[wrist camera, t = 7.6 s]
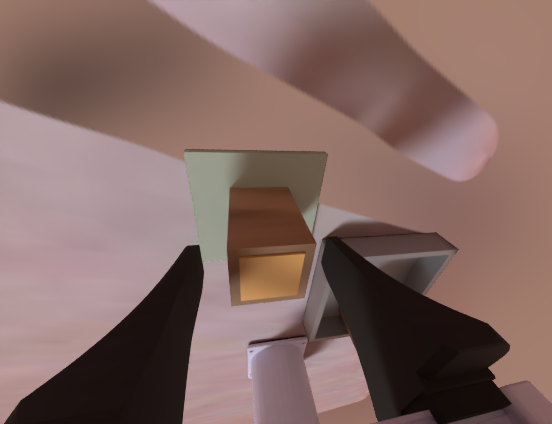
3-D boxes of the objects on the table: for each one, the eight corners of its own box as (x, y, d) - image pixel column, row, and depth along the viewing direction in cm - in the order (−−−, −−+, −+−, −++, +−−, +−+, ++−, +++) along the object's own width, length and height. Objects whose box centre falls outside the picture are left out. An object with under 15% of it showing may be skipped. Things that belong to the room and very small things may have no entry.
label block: (283, 232, 16) (304, 299, 11) (232, 234, 16) (231, 308, 11) (287, 187, 14) (317, 245, 9) (229, 187, 14) (226, 251, 8)
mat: (305, 249, 19) (307, 254, 18) (203, 256, 17) (202, 262, 17) (324, 151, 14) (327, 154, 13) (185, 149, 12) (183, 151, 12)
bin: (389, 309, 28) (401, 328, 25) (302, 321, 25) (308, 342, 23) (435, 232, 21) (458, 249, 18) (322, 239, 18) (333, 259, 16)
